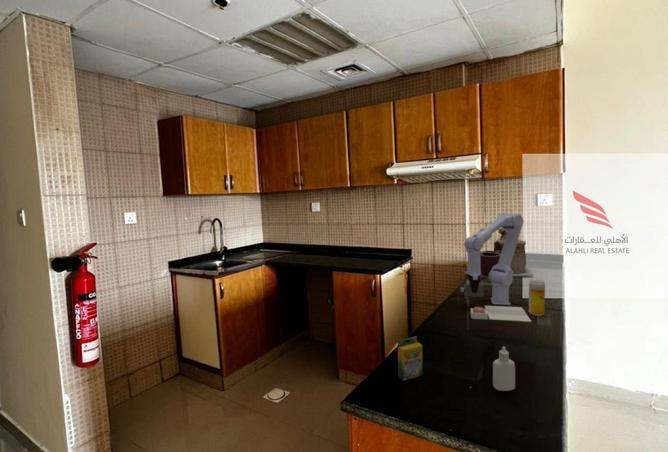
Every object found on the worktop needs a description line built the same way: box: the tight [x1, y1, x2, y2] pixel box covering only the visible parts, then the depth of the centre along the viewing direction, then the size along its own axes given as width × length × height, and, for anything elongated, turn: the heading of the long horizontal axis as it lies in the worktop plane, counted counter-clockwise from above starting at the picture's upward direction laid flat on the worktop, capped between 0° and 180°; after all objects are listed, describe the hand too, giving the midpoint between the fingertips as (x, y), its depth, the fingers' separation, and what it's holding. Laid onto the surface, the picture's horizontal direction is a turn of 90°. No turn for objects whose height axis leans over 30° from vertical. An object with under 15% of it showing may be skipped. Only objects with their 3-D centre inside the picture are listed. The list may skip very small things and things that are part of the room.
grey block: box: [459, 283, 485, 298], centre depth 166 cm, size 4×10×5 cm, turn 73°
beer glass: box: [528, 278, 546, 317], centre depth 155 cm, size 6×6×15 cm
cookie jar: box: [493, 227, 534, 278], centre depth 229 cm, size 25×25×32 cm
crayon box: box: [397, 335, 424, 381], centre depth 108 cm, size 7×3×12 cm, turn 114°
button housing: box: [470, 307, 489, 320], centre depth 155 cm, size 6×6×2 cm
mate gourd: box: [479, 251, 501, 286], centre depth 209 cm, size 16×14×20 cm
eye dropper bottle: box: [492, 346, 516, 392], centre depth 99 cm, size 4×6×12 cm
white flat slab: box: [484, 305, 532, 323], centre depth 158 cm, size 18×16×1 cm
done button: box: [474, 306, 484, 313], centre depth 155 cm, size 4×4×2 cm
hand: (474, 291), depth 165 cm, fingers closed on grey block, 3 cm apart
